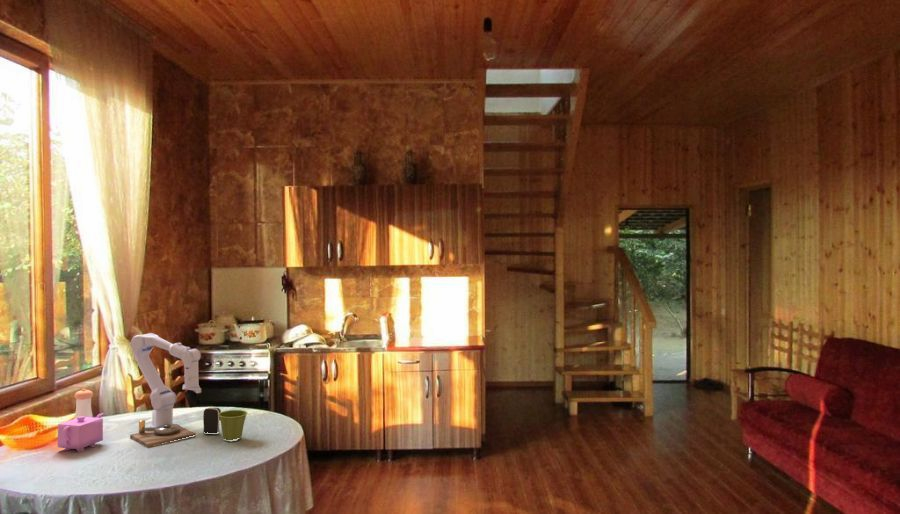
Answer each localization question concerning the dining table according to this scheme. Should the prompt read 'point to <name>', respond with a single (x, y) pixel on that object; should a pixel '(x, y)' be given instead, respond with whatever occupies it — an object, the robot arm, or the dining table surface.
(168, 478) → the dining table surface
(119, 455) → the dining table surface
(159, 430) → the crank handle wheel
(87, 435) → the teapot
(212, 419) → the battery charger
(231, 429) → the plant pot
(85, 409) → the pepper shaker
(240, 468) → the dining table surface
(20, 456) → the dining table surface
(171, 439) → the cutting board
